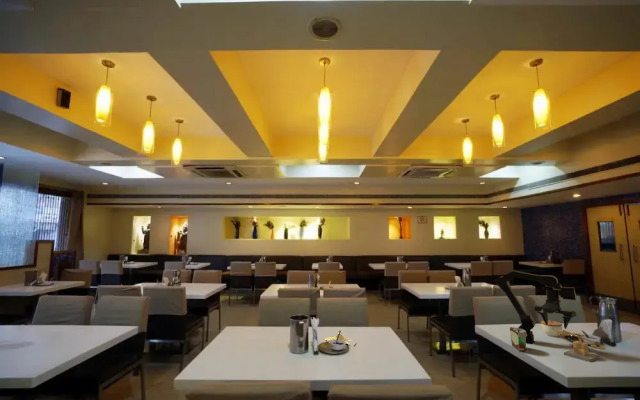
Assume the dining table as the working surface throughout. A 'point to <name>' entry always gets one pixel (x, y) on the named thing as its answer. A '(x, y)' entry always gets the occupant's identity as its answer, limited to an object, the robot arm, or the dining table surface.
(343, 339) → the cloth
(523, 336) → the food container
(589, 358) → the grey stone square slab
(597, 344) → the brass balance
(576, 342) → the oak block
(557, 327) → the lidded jar
